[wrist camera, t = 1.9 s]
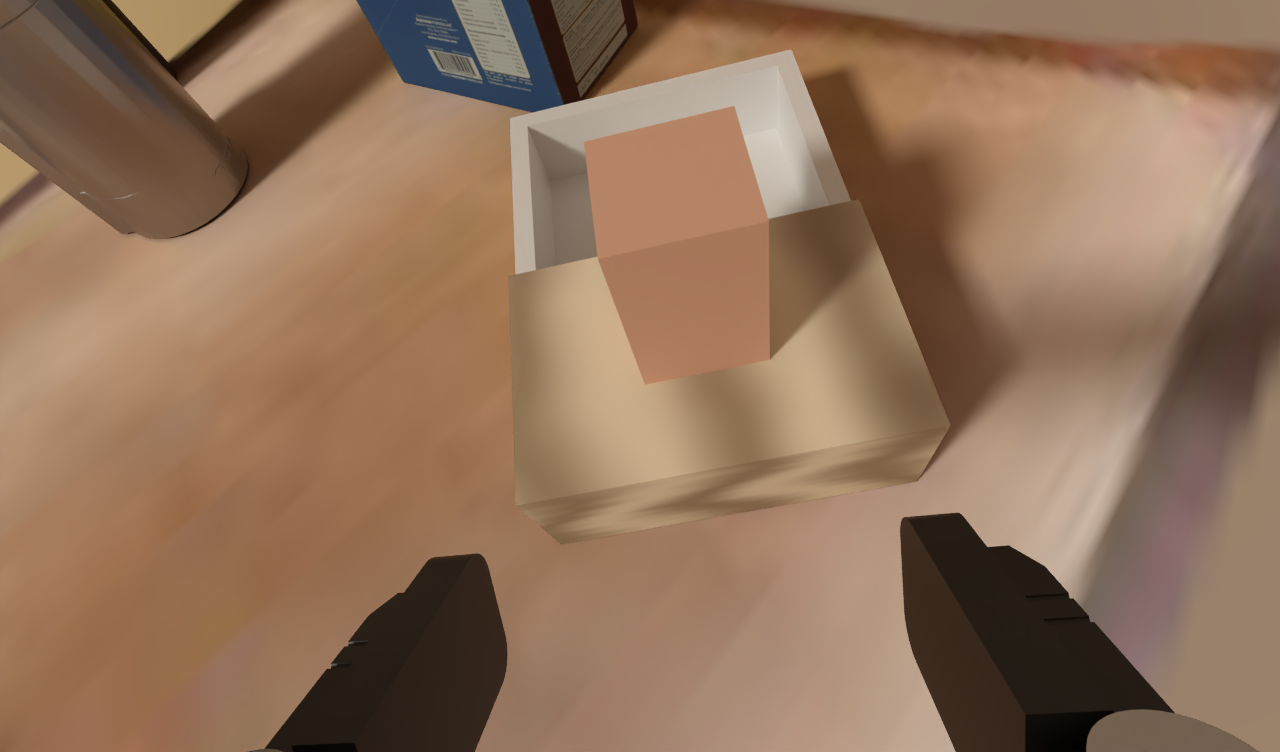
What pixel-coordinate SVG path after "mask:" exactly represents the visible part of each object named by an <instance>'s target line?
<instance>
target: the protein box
mask: <svg viewBox="0 0 1280 752" xmlns="http://www.w3.org/2000/svg"><path fill="white" fill-rule="evenodd" d="M356 1H357V2H358V4H359V6H360V7H361V9H362V11H363V13H364V14H365V16H366V18H367V20H368V21H369V23H370V25H371V26H372V28H373V30H374V32H375V34H376V35H377V37H378V39H379V41H380V42H381V44H382V46H383V48H384V49H385V51H386V53H387V55H388V56H389V58H390V60H391V61H392V63H393V65H394V67H395V68H396V70H397V72H398V74H399V75H400V77H401V79H402V80H403V82H405V83H410V84H414V85H418V86H422V87H427V88H431V89H436V90H440V91H444V92H449V93H453V94H457V95H461V96H466V97H470V98H474V99H478V100H483V101H486V102H491V103H495V104H499V105H504V106H508V107H512V108H516V109H521V110H525V111H529V112H537V111H541V110H545V109H550V108H554V107H558V106H562V105H566V104H570V103H574V102H578V101H582V100H583V99H584V97H585V96H586V95H587V93H588V92H589V91H590V89H591V88H592V87H593V85H594V84H595V82H596V81H597V80H598V78H599V77H600V76H601V74H602V73H603V72H604V70H605V69H606V68H607V66H608V65H609V63H610V62H611V61H612V59H613V58H614V57H615V55H616V54H617V53H618V51H619V50H620V49H621V47H622V46H623V45H624V43H625V42H626V40H627V39H628V38H629V36H630V35H631V34H632V32H633V31H634V29H635V28H636V27H637V25H638V24H637V18H636V12H635V9H634V4H633V0H356Z"/></svg>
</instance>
